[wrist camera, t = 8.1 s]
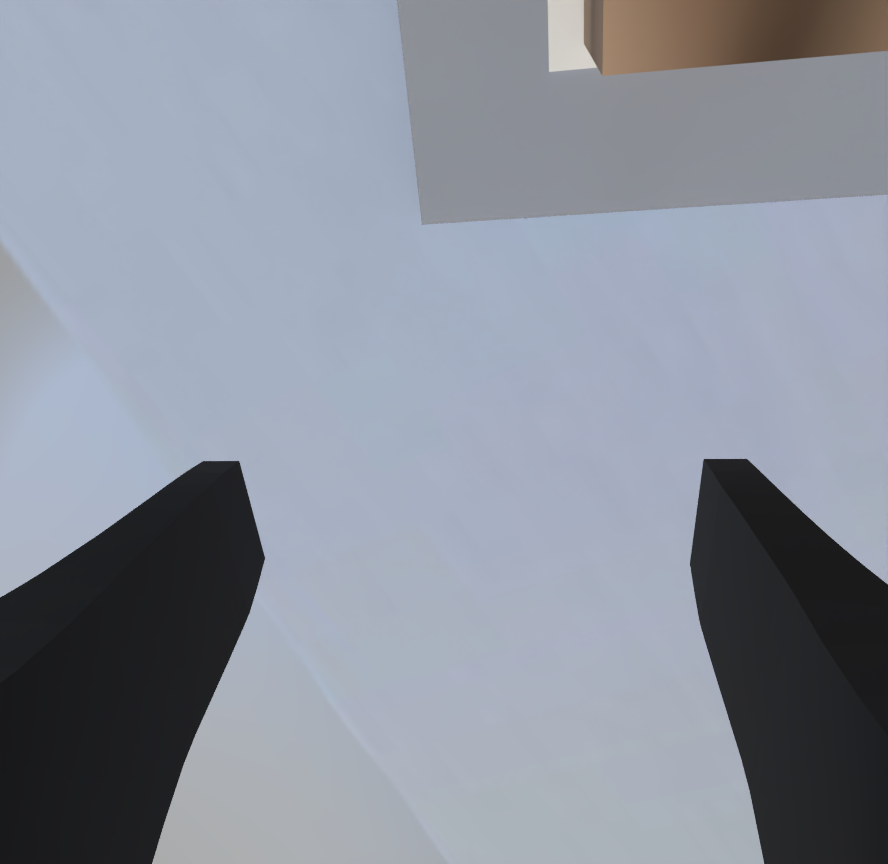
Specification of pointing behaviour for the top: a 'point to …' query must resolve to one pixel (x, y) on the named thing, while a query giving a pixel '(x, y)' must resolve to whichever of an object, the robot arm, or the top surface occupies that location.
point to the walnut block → (727, 32)
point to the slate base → (622, 121)
